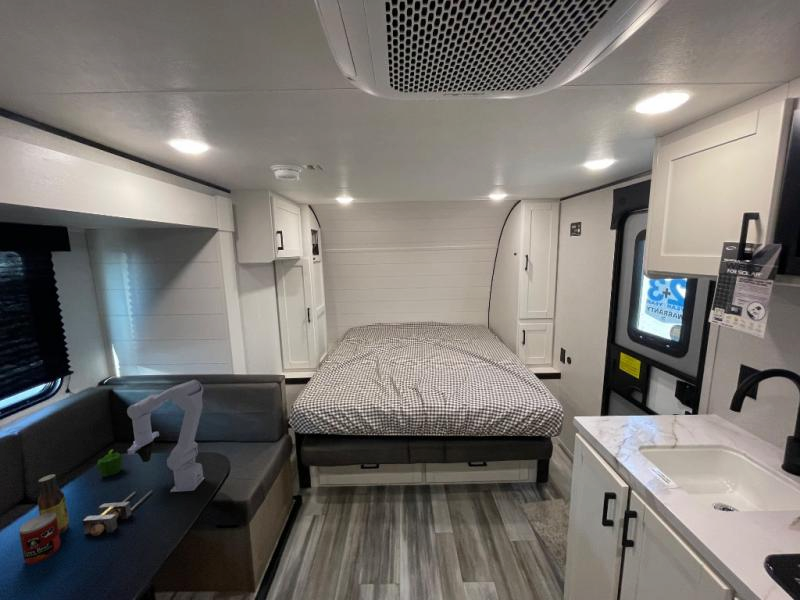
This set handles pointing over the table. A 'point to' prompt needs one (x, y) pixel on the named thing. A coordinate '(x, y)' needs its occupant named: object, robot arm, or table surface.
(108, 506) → the metal clamp tool
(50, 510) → the sauce bottle
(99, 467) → the bell pepper
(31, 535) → the canned food
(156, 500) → the table surface
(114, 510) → the tube
